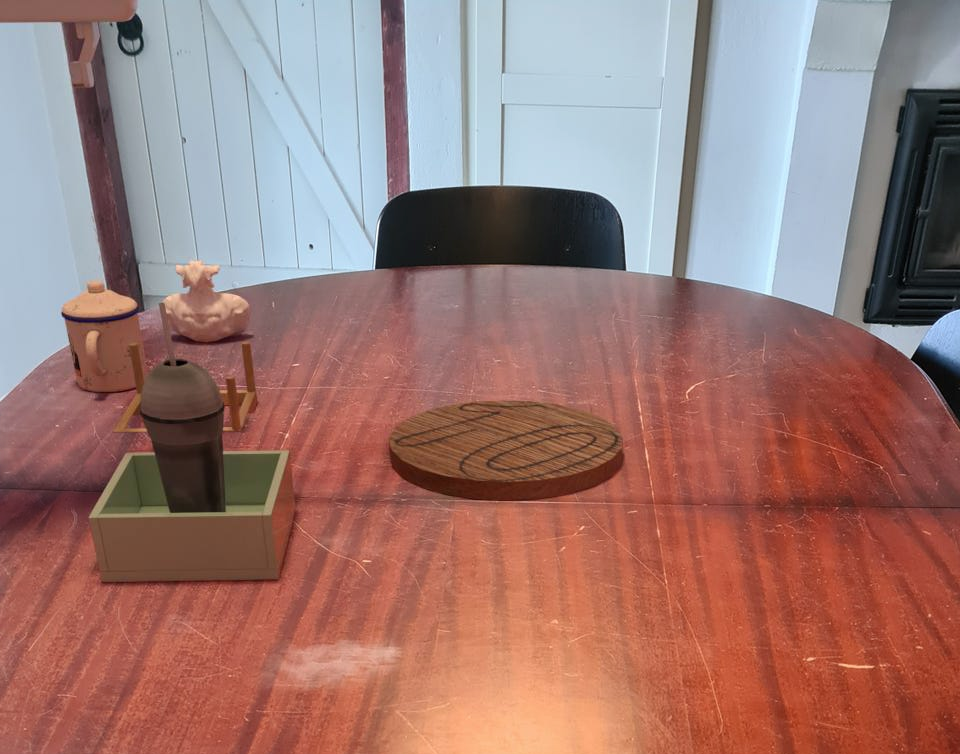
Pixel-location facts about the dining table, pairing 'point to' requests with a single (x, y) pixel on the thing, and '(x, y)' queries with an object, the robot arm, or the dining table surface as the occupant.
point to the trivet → (505, 450)
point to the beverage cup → (185, 431)
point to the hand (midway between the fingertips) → (28, 87)
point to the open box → (195, 523)
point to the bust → (205, 306)
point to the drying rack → (228, 396)
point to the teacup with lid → (103, 338)
